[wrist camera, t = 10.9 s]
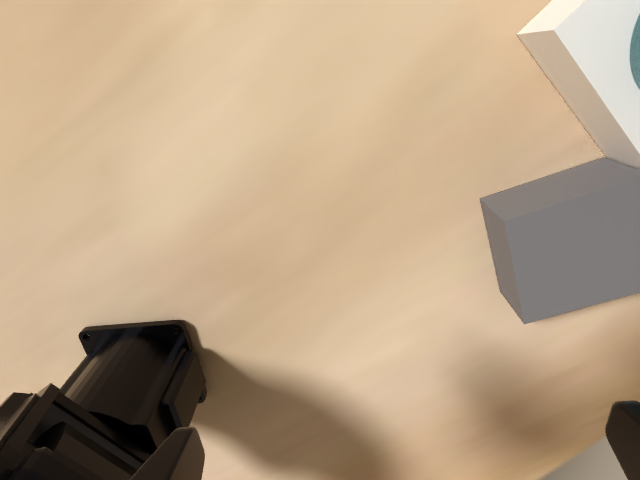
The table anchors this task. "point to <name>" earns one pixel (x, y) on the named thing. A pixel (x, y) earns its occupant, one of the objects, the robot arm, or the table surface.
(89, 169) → the table surface
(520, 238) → the grey square block
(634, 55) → the canister
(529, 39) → the pale block
